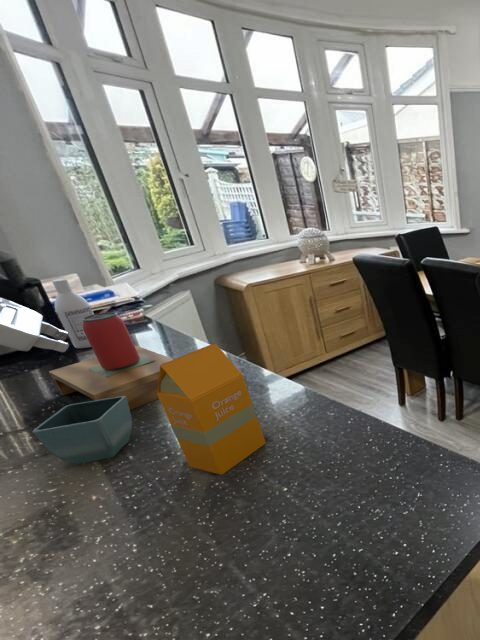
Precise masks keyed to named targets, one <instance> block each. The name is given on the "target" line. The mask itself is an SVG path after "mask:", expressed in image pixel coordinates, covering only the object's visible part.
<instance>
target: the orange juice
mask: <svg viewBox="0 0 480 640" xmlns="http://www.w3.org/2000/svg"><path fill="white" fill-rule="evenodd" d="M173 359H174V360H171V361H169V362H166V363H164V364H162V365H160V373H159V381H158V390H157V395H158V397H159V399H158V400H159V402H160V405H161V406H162V409H163V411H164V413H165V415H166V417H167V419H168V423H169V424H170V428H171V430H172V432H173V434H174V436H175V439H176V440H177V442H178V445H179V446H180V448H181V449H180V450H181V451H182V453H183V455H184V458H185V460H186V462H187V464H188V466H189V467H190V468H193V469H198V470H201V471H205V472H209V473H212V474H216V475H220V476H222V475H224V474H225V473H226V472H228V471H229V470H231V469H232V468H234V467H235V466H237V465H238V464H239V463H240V462H242V461H243V460H245V459H246V458H248V457H249V456H251V455H252V454H253V453H254V452H256V451H257V450H259V449H260V448H261V447H263V446H264V445H265V444H266V443H267V442H266V440H265V437H264V433H263V431H262V427H261V424H260V422H259V419H258V414H257V412H256V408H255V405H254V403H253V401H252V397H251V395H250V392H249V389H248V386H247V384H246V383H247V382H246V380H245V378H244V374H243V373H242V372H241V371H240V370H239V369H238V367H236V365H235V364H234V363H233V361H231V359H230V358H229V357H228V356H227V355H226V353H225V352H224V351H223V350H222V349H221V348H220V346H218V344H217V342H213V343H211V344H209V345H207V346H204V347H201V348H198V349H197V350H194V351H192V352H188V353H187V354H184V355H182V356H179V357H176V358H173Z"/></svg>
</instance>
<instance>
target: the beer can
mask: <svg viewBox="0 0 480 640" xmlns="http://www.w3.org/2000/svg"><path fill="white" fill-rule="evenodd" d="M82 321H83V331H84V333H85V335H86V337H87V339H88V341H89V343H90V345H91V347H90V348H91V349H92V351H93V353H94V355H95V358H96V357H97V359H98V361H99V363H100V365H101V367H102V368H103V369H105V370H117V369H122V368H126V367H129V366H131V365H134V364H135V363H137V362H138V361H139V360H140V357H139V355H138V353H137V350H136V348H135V346H136V345H135V344H134V341H133V339H132V336H131V334H130V333H129V332H130V331H129V329H128V328H127V326H126V323H125V322H124V320H123V318H122V317H120V315H118V313H117V312H116V311H106V312H97V313H94V315H90V316H87V317H84V318H83V319H82Z"/></svg>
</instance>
